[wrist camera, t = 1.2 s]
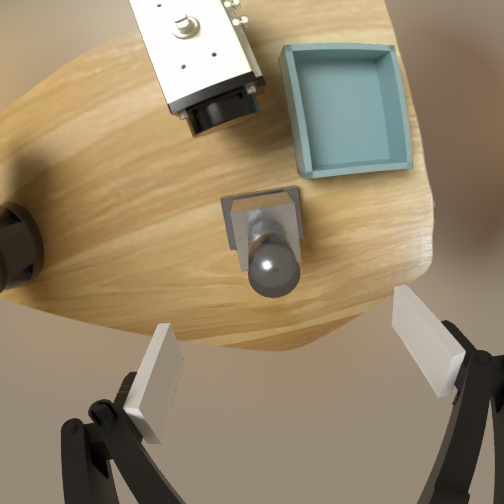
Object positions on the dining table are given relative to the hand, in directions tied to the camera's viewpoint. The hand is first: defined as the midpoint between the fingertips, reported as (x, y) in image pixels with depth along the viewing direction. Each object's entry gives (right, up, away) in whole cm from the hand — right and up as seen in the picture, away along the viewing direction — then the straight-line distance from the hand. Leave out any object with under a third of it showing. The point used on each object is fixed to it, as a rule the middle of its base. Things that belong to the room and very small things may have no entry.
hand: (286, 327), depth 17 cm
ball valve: (-7, +28, +17) cm, 33 cm away
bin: (+10, +23, +19) cm, 31 cm away
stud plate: (0, +9, +24) cm, 26 cm away
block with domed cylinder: (0, +8, +22) cm, 23 cm away
